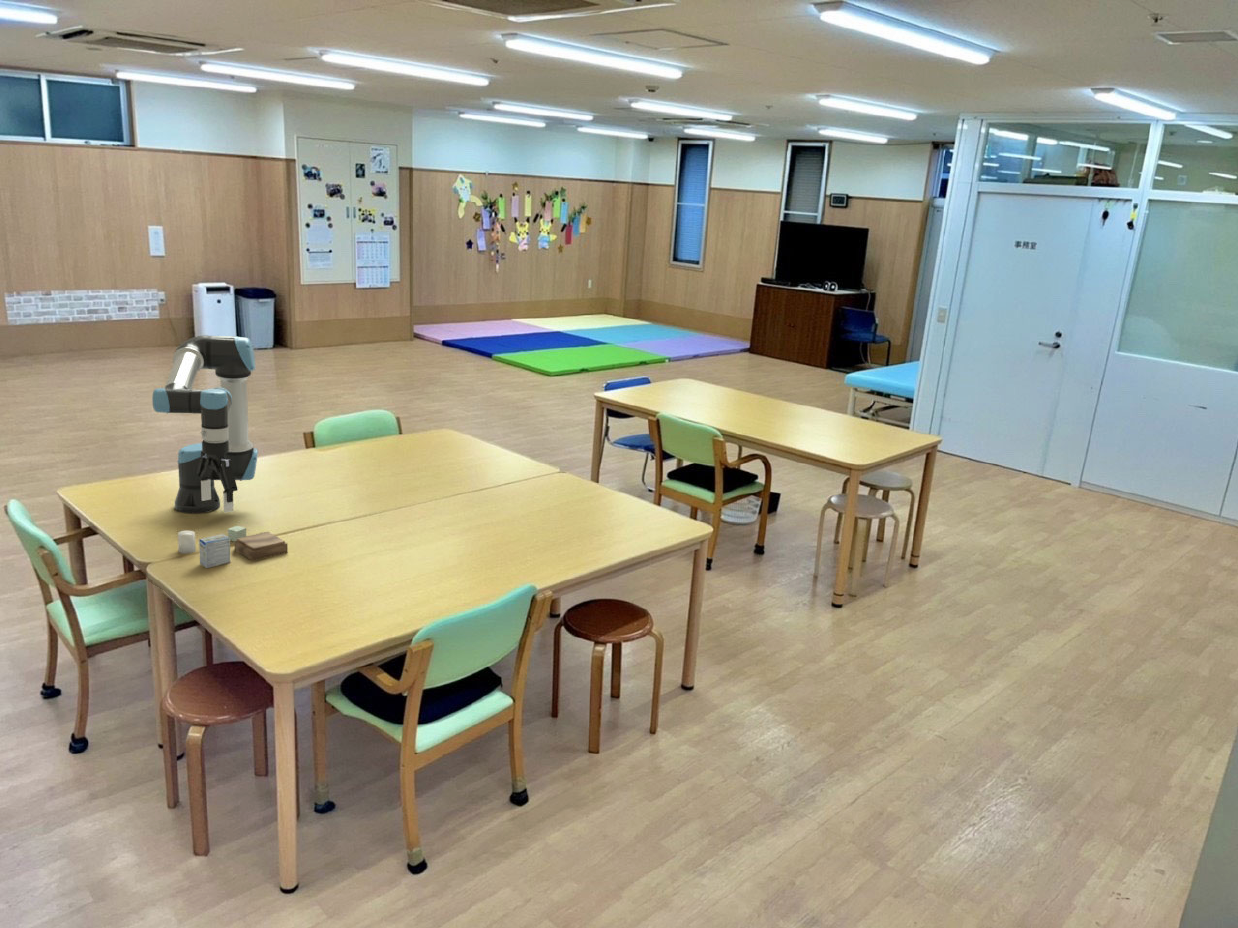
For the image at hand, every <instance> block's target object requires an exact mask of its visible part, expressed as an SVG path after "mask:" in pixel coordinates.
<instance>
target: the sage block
mask: <svg viewBox="0 0 1238 928" xmlns="http://www.w3.org/2000/svg"><path fill="white" fill-rule="evenodd" d="M246 536H247V527H243V526H241V525H235V526H232V527H229V528H227V537H229V538H230V542H231V541H232V542H234V543H235V540H237V538H242V537H246Z"/></svg>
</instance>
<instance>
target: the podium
mask: <svg viewBox="0 0 1238 928" xmlns="http://www.w3.org/2000/svg"><path fill="white" fill-rule="evenodd" d="M234 550H235V551H236V552H238V553H240V554H241V555H243V557H247V559H249V560H251V561H253V562H255V561H259V560H262V559H266V558H270V557H271V558H272V557H275V556H280V555H283V554H286V553H287V554H288V552H289V550H288V543H287V542H286V540H283V539H282V538H280V537H278V536H276V535H275V534H273V533H271V532H270V531H265V532H260V533H256V534H251V535H246V537H242V538H237V540H235V542H234Z"/></svg>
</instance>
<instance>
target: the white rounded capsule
mask: <svg viewBox="0 0 1238 928" xmlns="http://www.w3.org/2000/svg"><path fill="white" fill-rule="evenodd" d="M177 545H178V547H177V548H178V553H180V554H191V553H194V552H195V551H196V532H195V531H193V530H181V531H179V532H178V533H177Z"/></svg>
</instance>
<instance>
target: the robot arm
mask: <svg viewBox="0 0 1238 928" xmlns="http://www.w3.org/2000/svg"><path fill="white" fill-rule="evenodd" d="M172 363H173V365H172V367H171V370H170V372H169V375H168V378H167V380H166V383H165V386H164V387H161V388H160V387H159V388H155V389H154V390H153V392H152V399H151V400H152V401H151V402H152V408H153V410H154V412H156V413H162V414H163V413H164V414H200V418H201V421H200V422H201V425H200V426H201V431H200V434H201V440H202V441H201V442H200V443H199V442H198V443H193V444H189V445H186V446H184V447H182V448H180V449H179V450H178V453H177V454H178V455H177V464H178V466H177V469H178V490H177V493H176V497H175V500H174V509H175V510H176V511H178V512H179V513H185V514H205V513H209V512H213V511H216V510H218V509H219V508H220V507H221V499H220V497H219V495H218V492H217V490H216V487H215V481H220V482H221V485H222V487H223V489H224V490H223V491H222V493H223V497H222V498H223V512H224V513H230V512H234V492H237V491H238V486H237V481H240V482H241V481H251V480H253V479H254V477H255V474H256V470H257V462H258V454H259V449H257V448H255V447H254V443H253V442H252V441H251V440H249V439H250V438H249V436H250V435H249V413H248V411H249V409H248V408H249V407H248V386H247V385H248V383H247V381H248V379H249V377H251V376H252V372H253V371H255V370H256V357H255V350H254V345H253V343H252V340H251V339H250V338H248V337H245V336H244V337H242V336H237V335H236V336H229V335H226V336H225V335H208V334H207V335H205V334H204V335H196V336H194V337H192V338H190V339H189V338H188V340H185V341H184V342H182V343H181V344H180V345H179V346H177V348H176V349H175V351H174V353H173V355H172ZM201 370H215V371H214V373H215V374H214V375H215V376H216V377H217V378H219V380H220V387H218V386H217V387H214V388H208V389H207V388H206V389H198V388H197V389H193V386H194V383H195V380H196V377H197V375H198V372H199V371H201Z"/></svg>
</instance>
